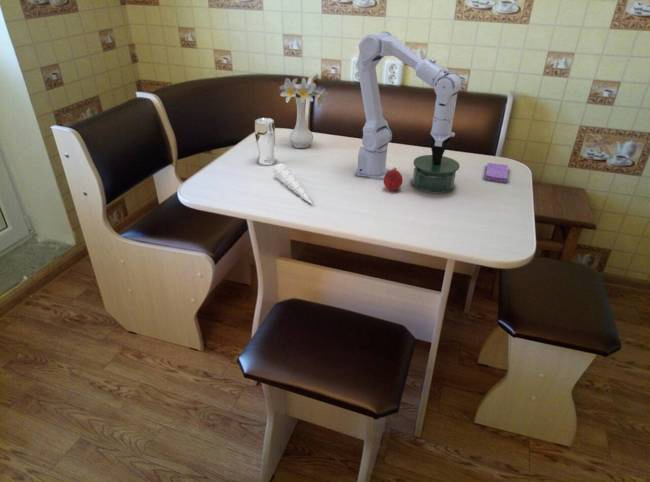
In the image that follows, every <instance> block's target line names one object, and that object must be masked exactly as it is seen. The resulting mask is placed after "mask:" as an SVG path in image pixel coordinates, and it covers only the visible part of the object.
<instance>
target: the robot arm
mask: <svg viewBox="0 0 650 482" xmlns="http://www.w3.org/2000/svg"><path fill="white" fill-rule="evenodd" d="M358 50H359V53H358V56H357V63H356V68H357V74H358V78H359V84H360V91H361V97H362V104H363V110H364V114H365V123H364V126H363V127H362V139H361V143H362V146H360V147H359V150H358V154H357V166H356V167H357V169H356V176H358V177H365V178H370V177H372V178H380V179H384V177H385V175H386V174H387V173H388V172H389V171H388V170H389V169H388V168H387V158H388V157H387V156H388V147H389V144H390V143H391V141H392V139H393V132H392V130H391V129H390V127H389V122H388V121H387V120H386V119H385V118H384V115H383V108H382V102H381V95H380V87H379V83H378V82H379V81H378V77H377V69H376V67H377V66H378V64H379V63H380V61H381V60H382V59H383V58H384V57H394V58H396V59H397V60H400V61H401V62H402V63H404V64H406V65H407V66H409V67H410V68H412V69H413V70H414V71H415V75H416V77H417V78H418V79H420V80H421V81H423V82H424V83H426V84H427V85H428V86H430V87H431V88H432V89H433V90H434V93H435V95H436V96H435V97H436V98H435V105H434V111H433V117H432V126H431V130H430V139H429V146H430V149H431V155H432V161H433V163H437V164H440V162H441V159H442V156H444V153H445V152H446V149H447V148H448V146H449V145H450V140H451V137H455V136H456V133H455V132H453V131H452V129H453V123H454V117H455V111H456V110H455V109H456V107H457V106H456V105H457V99H458V93H459V91H461V88H463V87H462V86H463V80H462V77H461V76H460V75H459V74H458V73H457V72H453V71H451V72H450V70H449V69H448V68H444V67H442V66H441V65H439V64H438V63H437V60H436V59H435V58H430V57H426V58H422V57H421V56H419V55H418V54H417V53H415V52H414V51H413V50H412V49H410V48H409V47H408V46H407V45H406V44H404V43H403V42H402V41H401V40H400V39H399V38H398V37H397V36H395V35H394V34H393V35H392V34H391V33H390V32H389V31H381V32H379V33H373V34H367V35H365V36H363V38H362V39H361V41H360V42H359V44H358Z"/></svg>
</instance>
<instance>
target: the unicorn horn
mask: <svg viewBox="0 0 650 482" xmlns="http://www.w3.org/2000/svg"><path fill="white" fill-rule="evenodd" d="M272 173H273V175H274V177H275V178H276V179H278V180H279V181H280V182H281V183H282V184H284V185H285V186H286V187H288V188H289V189H290V190H291V191H293V193H295V194H296V195H298V196H299V197H300V198H301V199H303V200H304V201H306V202H308V203H309V204H311V205H312V204H313V201H312V200H311V199H310V197H309V195H308V193H307V192H306V191H305V189H304V188H303V187H302V185H301V184H300V182H298V180H297V179H296V178H295V176H294V175H293V173H291V170H289V168H288V167H287V166H286V164H285V163H278V164H276V165H275V166H274V167H273V169H272Z"/></svg>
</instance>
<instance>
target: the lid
mask: <svg viewBox="0 0 650 482" xmlns="http://www.w3.org/2000/svg"><path fill="white" fill-rule="evenodd" d="M413 166H414V168H415V167H416V168H418V169H420V170H422V171H425V172H429V173H435V174H448V173H453V172H456V173H457V171H459V170H460V167H461V166H460V163H459V162H458V161H456V160H455V159H453V158H451V157H448V156H444V155H443V156H442V159H441V162H440V164H437V163H433V161H432V154H424V155H420V156H417V157H415V158H414V159H413Z"/></svg>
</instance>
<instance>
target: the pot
mask: <svg viewBox="0 0 650 482" xmlns="http://www.w3.org/2000/svg"><path fill="white" fill-rule="evenodd" d="M456 173H457V171H456V172H453V173H448V174H435V173H429V172H425V171H422V170H420V169H418V168H416V167H415V166H414V168H413V175H412V184H413V185H414V186H415V188H417V189H420V190H422V191H426V192H431V193H444V192H448V191H451V190H452V189H453V188H454V186H455V178H456Z"/></svg>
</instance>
